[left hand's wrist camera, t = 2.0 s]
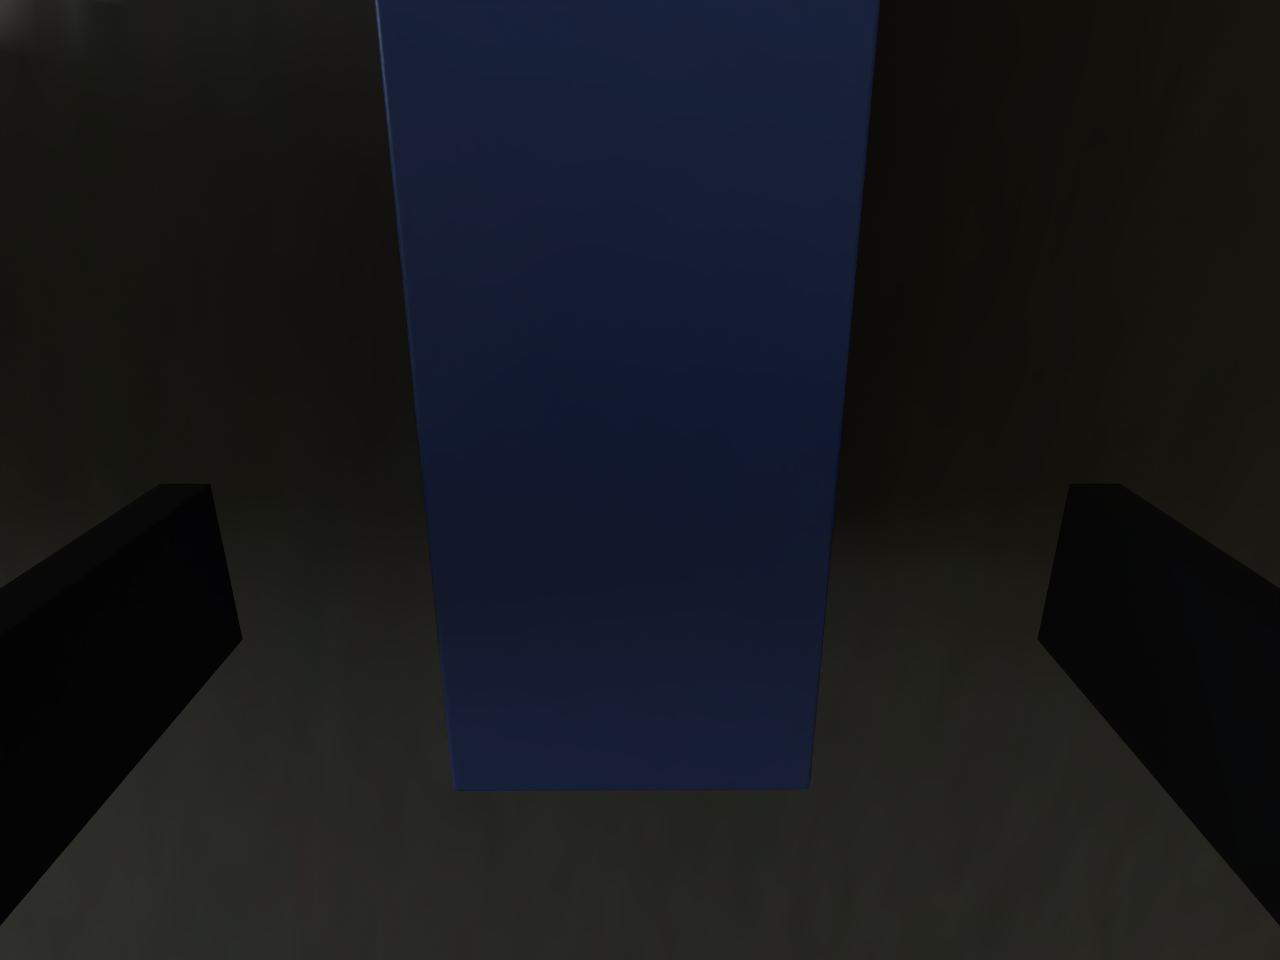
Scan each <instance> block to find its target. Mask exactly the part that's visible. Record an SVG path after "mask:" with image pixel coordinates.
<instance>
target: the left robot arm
mask: <svg viewBox="0 0 1280 960" xmlns="http://www.w3.org/2000/svg"><path fill="white" fill-rule="evenodd" d="M241 641H242V635H241V630H240V625H239V620H238V615H237V611H236V606H235V601H234V596H233V591H232V587H231V582H230V577H229V572H228V567H227V563H226V558H225V553H224V548H223V543H222V538H221V534H220V529H219V524H218V519H217V514H216V510H215V505H214V500H213V495H212V490H211V486H210V484H159V485H158V486H156V487H155V488H153V489H152V490H150V491H149V492H147V493H145V494H144V495H142V496H141V497H139V498H138V499H136V500H135V501H133V502H132V503H130V504H129V505H127V506H126V507H124V508H123V509H121V510H119V511H118V512H116V513H115V514H113V515H112V516H110V517H109V518H107V519H106V520H104V521H103V522H101V523H100V524H98V525H97V526H95V527H93V528H92V529H90V530H89V531H87V532H86V533H84V534H83V535H81V536H80V537H78V538H77V539H75V540H74V541H72V542H71V543H69V544H68V545H66V546H64V547H63V548H61V549H60V550H58V551H57V552H55V553H54V554H52V555H51V556H49V557H48V558H46V559H45V560H43V561H42V562H40V563H38V564H37V565H35V566H34V567H32V568H31V569H29V570H28V571H26V572H25V573H23V574H22V575H20V576H19V577H17V578H16V579H14V580H13V581H11V582H9V583H8V584H6V585H5V586H3V587H2V588H0V925H1V924H2V923H3V922H4V921H5V919H6V918H7V917H8V916H9V915H10V913H11V912H12V911H13V910H14V909H15V908H16V906H17V905H18V904H19V903H20V902H21V900H22V899H23V898H24V897H25V896H26V895H27V893H28V892H29V891H30V890H31V889H32V887H33V886H34V885H35V884H36V883H37V882H38V880H39V879H40V878H41V877H42V876H43V874H44V873H45V872H46V871H47V870H48V869H49V867H50V866H51V865H52V864H53V863H54V861H55V860H56V859H57V858H58V857H59V856H60V854H61V853H62V852H63V851H64V850H65V848H66V847H67V846H68V845H69V844H70V843H71V841H72V840H73V839H74V838H75V837H76V835H77V834H78V833H79V832H80V831H81V830H82V828H83V827H84V826H85V825H86V824H87V822H88V821H89V820H90V819H91V818H92V817H93V815H94V814H95V813H96V812H97V811H98V810H99V808H100V807H101V806H102V805H103V804H104V802H105V801H106V800H107V799H108V798H109V797H110V795H111V794H112V793H113V792H114V791H115V789H116V788H117V787H118V786H119V785H120V784H121V782H122V781H123V780H124V779H125V778H126V776H127V775H128V774H129V773H130V772H131V771H132V769H133V768H134V767H135V766H136V765H137V763H138V762H139V761H140V760H141V759H142V758H143V756H144V755H145V754H146V753H147V752H148V750H149V749H150V748H151V747H152V746H153V745H154V743H155V742H156V741H157V740H158V739H159V737H160V736H161V735H162V734H163V733H164V732H165V730H166V729H167V728H168V727H169V726H170V724H171V723H172V722H173V721H174V720H175V719H176V717H177V716H178V715H179V714H180V713H181V711H182V710H183V709H184V708H185V707H186V706H187V704H188V703H189V702H190V701H191V700H192V698H193V697H194V696H195V695H196V694H197V693H198V691H199V690H200V689H201V688H202V687H203V685H204V684H205V683H206V682H207V681H208V680H209V678H210V677H211V676H212V675H213V674H214V672H215V671H216V670H217V669H218V668H219V667H220V665H221V664H222V663H223V662H224V661H225V659H226V658H227V657H228V656H229V655H230V654H231V652H232V651H233V650H234V649H235V648H236V646H237V645H238V644H239V643H240V642H241ZM1038 641H1039V642H1040V643H1041V644H1042V645H1043V646H1044V648H1045V649H1046V650H1047V651H1048V652H1049V654H1050V655H1051V656H1052V657H1053V658H1054V659H1055V661H1056V662H1057V663H1058V664H1059V665H1060V667H1061V668H1062V669H1063V670H1064V671H1065V672H1066V674H1067V675H1068V676H1069V677H1070V678H1071V680H1072V681H1073V682H1074V683H1075V684H1076V685H1077V687H1078V688H1079V689H1080V690H1081V691H1082V693H1083V694H1084V695H1085V696H1086V697H1087V698H1088V700H1089V701H1090V702H1091V703H1092V704H1093V706H1094V707H1095V708H1096V709H1097V710H1098V711H1099V713H1100V714H1101V715H1102V716H1103V717H1104V719H1105V720H1106V721H1107V722H1108V723H1109V724H1110V726H1111V727H1112V728H1113V729H1114V730H1115V732H1116V733H1117V734H1118V735H1119V736H1120V737H1121V739H1122V740H1123V741H1124V742H1125V743H1126V745H1127V746H1128V747H1129V748H1130V749H1131V750H1132V752H1133V753H1134V754H1135V755H1136V756H1137V758H1138V759H1139V760H1140V761H1141V762H1142V763H1143V765H1144V766H1145V767H1146V768H1147V769H1148V771H1149V772H1150V773H1151V774H1152V775H1153V776H1154V778H1155V779H1156V780H1157V781H1158V782H1159V784H1160V785H1161V786H1162V787H1163V788H1164V789H1165V791H1166V792H1167V793H1168V794H1169V795H1170V797H1171V798H1172V799H1173V800H1174V801H1175V802H1176V804H1177V805H1178V806H1179V807H1180V808H1181V810H1182V811H1183V812H1184V813H1185V814H1186V815H1187V817H1188V818H1189V819H1190V820H1191V821H1192V822H1193V824H1194V825H1195V826H1196V827H1197V828H1198V830H1199V831H1200V832H1201V833H1202V834H1203V835H1204V837H1205V838H1206V839H1207V840H1208V841H1209V843H1210V844H1211V845H1212V846H1213V847H1214V848H1215V850H1216V851H1217V852H1218V853H1219V854H1220V856H1221V857H1222V858H1223V859H1224V860H1225V861H1226V863H1227V864H1228V865H1229V866H1230V867H1231V869H1232V870H1233V871H1234V872H1235V873H1236V874H1237V876H1238V877H1239V878H1240V879H1241V880H1242V882H1243V883H1244V884H1245V885H1246V886H1247V887H1248V889H1249V890H1250V891H1251V892H1252V893H1253V895H1254V896H1255V897H1256V898H1257V899H1258V900H1259V902H1260V903H1261V904H1262V905H1263V906H1264V908H1265V909H1266V910H1267V911H1268V912H1269V913H1270V915H1271V916H1272V917H1273V918H1274V919H1275V921H1276V922H1277V923H1278V924H1279V925H1280V588H1278V587H1277V586H1275V585H1274V584H1272V583H1271V582H1269V581H1267V580H1266V579H1264V578H1263V577H1261V576H1260V575H1258V574H1257V573H1255V572H1254V571H1252V570H1251V569H1249V568H1248V567H1246V566H1245V565H1243V564H1242V563H1240V562H1238V561H1237V560H1235V559H1234V558H1232V557H1231V556H1229V555H1228V554H1226V553H1225V552H1223V551H1222V550H1220V549H1219V548H1217V547H1216V546H1214V545H1212V544H1211V543H1209V542H1208V541H1206V540H1205V539H1203V538H1202V537H1200V536H1199V535H1197V534H1196V533H1194V532H1193V531H1191V530H1190V529H1188V528H1187V527H1185V526H1183V525H1182V524H1180V523H1179V522H1177V521H1176V520H1174V519H1173V518H1171V517H1170V516H1168V515H1167V514H1165V513H1164V512H1162V511H1161V510H1159V509H1157V508H1156V507H1154V506H1153V505H1151V504H1150V503H1148V502H1147V501H1145V500H1144V499H1142V498H1141V497H1139V496H1138V495H1136V494H1135V493H1133V492H1131V491H1130V490H1128V489H1127V488H1125V487H1124V486H1122V485H1121V484H1070V486H1069V490H1068V495H1067V500H1066V505H1065V510H1064V514H1063V519H1062V524H1061V529H1060V534H1059V538H1058V543H1057V548H1056V553H1055V558H1054V563H1053V567H1052V572H1051V577H1050V582H1049V587H1048V591H1047V596H1046V601H1045V606H1044V611H1043V615H1042V620H1041V625H1040V630H1039V635H1038Z"/></svg>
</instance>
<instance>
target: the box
mask: <svg viewBox="0 0 1280 960" xmlns="http://www.w3.org/2000/svg"><path fill="white" fill-rule="evenodd" d="M374 3H375V13H376V23H377V33H378V43H379V53H380V63H381V73H382V83H383V93H384V103H385V113H386V123H387V133H388V143H389V153H390V163H391V173H392V183H393V193H394V203H395V213H396V223H397V233H398V243H399V253H400V263H401V273H402V283H403V293H404V303H405V313H406V323H407V333H408V343H409V353H410V363H411V373H412V383H413V393H414V403H415V413H416V423H417V433H418V443H419V453H420V463H421V473H422V483H423V493H424V503H425V513H426V523H427V533H428V543H429V553H430V563H431V573H432V583H433V593H434V603H435V613H436V623H437V633H438V643H439V653H440V663H441V673H442V683H443V693H444V703H445V712H446V722H447V732H448V742H449V752H450V762H451V772H452V782H453V788H454V790H457V791H505V790H729V789H807V788H809V785H810V778H811V767H812V756H813V745H814V734H815V722H816V711H817V700H818V689H819V678H820V667H821V656H822V645H823V634H824V623H825V612H826V601H827V590H828V579H829V568H830V557H831V545H832V534H833V523H834V512H835V501H836V490H837V479H838V468H839V457H840V446H841V435H842V424H843V413H844V402H845V391H846V379H847V368H848V357H849V346H850V335H851V324H852V313H853V302H854V291H855V280H856V269H857V258H858V247H859V236H860V225H861V214H862V202H863V191H864V180H865V169H866V158H867V147H868V136H869V125H870V114H871V103H872V92H873V81H874V70H875V59H876V48H877V36H878V25H879V14H880V3H881V0H374Z"/></svg>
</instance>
